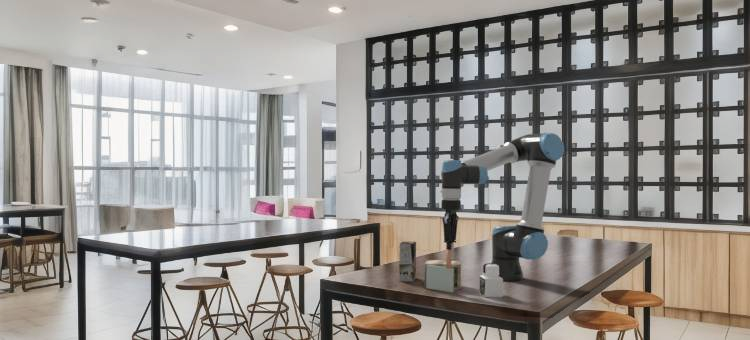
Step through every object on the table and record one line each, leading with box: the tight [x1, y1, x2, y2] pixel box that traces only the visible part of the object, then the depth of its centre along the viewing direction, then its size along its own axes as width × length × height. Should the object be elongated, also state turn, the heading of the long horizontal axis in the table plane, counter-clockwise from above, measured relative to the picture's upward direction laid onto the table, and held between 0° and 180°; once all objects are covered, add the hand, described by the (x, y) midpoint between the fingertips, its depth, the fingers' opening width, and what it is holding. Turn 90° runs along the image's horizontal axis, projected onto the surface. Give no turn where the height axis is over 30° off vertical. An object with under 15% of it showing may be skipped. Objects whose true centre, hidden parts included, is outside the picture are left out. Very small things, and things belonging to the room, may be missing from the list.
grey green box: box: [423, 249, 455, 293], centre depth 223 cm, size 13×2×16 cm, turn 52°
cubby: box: [424, 259, 462, 291], centre depth 231 cm, size 14×9×10 cm, turn 80°
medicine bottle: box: [479, 262, 504, 298], centre depth 216 cm, size 7×7×12 cm
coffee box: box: [398, 241, 417, 283], centre depth 246 cm, size 9×6×16 cm
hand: (449, 259), depth 222 cm, fingers closed
